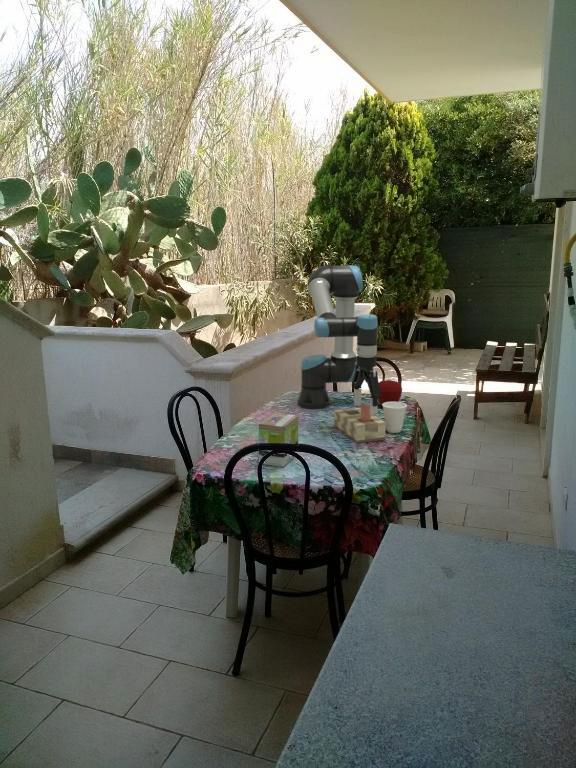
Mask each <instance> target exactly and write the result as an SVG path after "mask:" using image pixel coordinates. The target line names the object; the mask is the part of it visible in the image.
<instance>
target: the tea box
mask: <svg viewBox="0 0 576 768" xmlns="http://www.w3.org/2000/svg"><path fill="white" fill-rule="evenodd" d="M259 443H293V444H298V445H299V415H298V414H297V415H296V414H287V413H278V412H273V413H272V414H270V415H269V416H268V417H266V418H265V419H264V420H263V421H261V422H259V423H258V444H259ZM267 453H269V451H259V450H258V461H259V460H260V459H261V458H262V457H263V456H264V455H265V454H267ZM293 459H294V457H293V456H290V455H287V454H275V455H272V456H270V457H269V458H268V459H267V460H266V461H265V463H264V464H263V465H264V466H266V465H267V466H275V467H282V468H284V467H285V466H287V465H288V463H290V461H291V460H293Z"/></svg>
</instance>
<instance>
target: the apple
mask: <svg viewBox="0 0 576 768" xmlns="http://www.w3.org/2000/svg"><path fill="white" fill-rule="evenodd" d="M378 382H379V387H380V392H381V397H378V404H380V406H382V404H383V403H385V402H400V400H401V397H402V394H403V387H402V384H401V383H400V382H398V381H396V380H391V379H386V380H385V379H384V380H380V381H378Z"/></svg>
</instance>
